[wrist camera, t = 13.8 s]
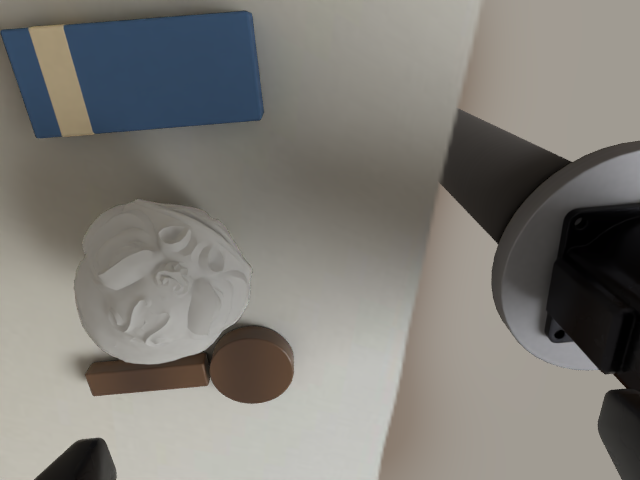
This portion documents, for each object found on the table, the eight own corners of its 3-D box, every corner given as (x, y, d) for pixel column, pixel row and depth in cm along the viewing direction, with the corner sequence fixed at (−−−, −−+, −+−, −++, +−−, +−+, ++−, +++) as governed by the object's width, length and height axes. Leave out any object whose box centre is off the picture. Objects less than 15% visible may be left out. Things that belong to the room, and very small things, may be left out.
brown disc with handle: (289, 321, 21) (289, 334, 20) (297, 385, 23) (297, 400, 22) (83, 340, 21) (74, 354, 20) (106, 403, 23) (99, 418, 22)
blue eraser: (251, 11, 16) (247, 9, 14) (264, 114, 17) (261, 121, 16) (23, 29, 16) (-3, 29, 14) (56, 131, 17) (35, 139, 16)
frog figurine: (292, 214, 19) (291, 304, 13) (206, 325, 21) (168, 449, 15) (164, 128, 17) (90, 184, 11) (84, 259, 19) (-17, 368, 13)
